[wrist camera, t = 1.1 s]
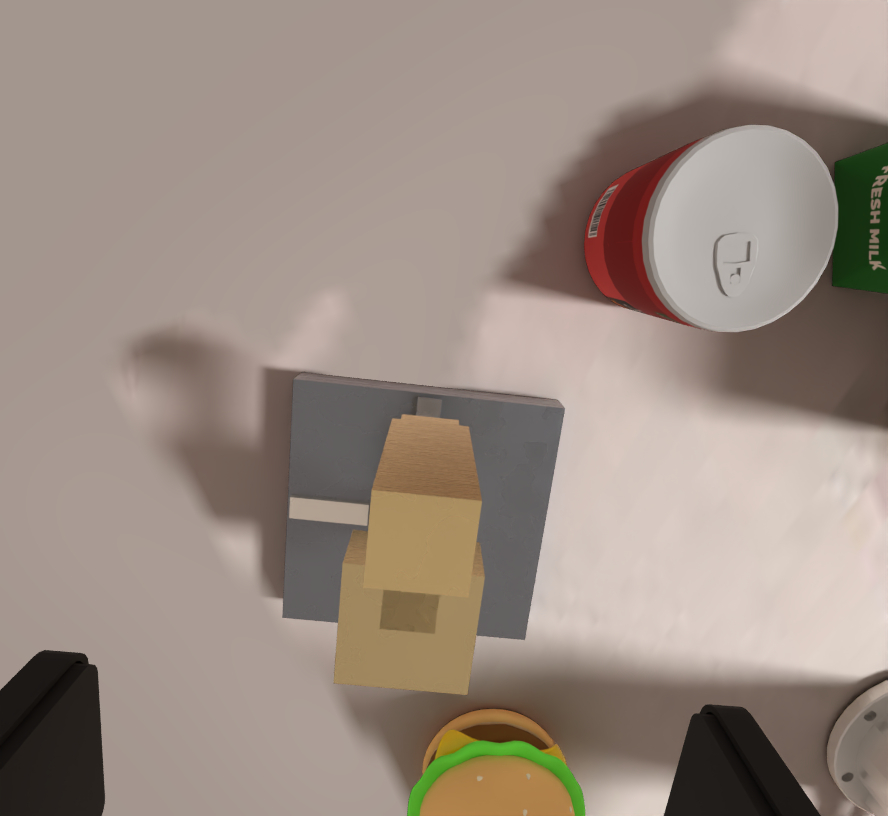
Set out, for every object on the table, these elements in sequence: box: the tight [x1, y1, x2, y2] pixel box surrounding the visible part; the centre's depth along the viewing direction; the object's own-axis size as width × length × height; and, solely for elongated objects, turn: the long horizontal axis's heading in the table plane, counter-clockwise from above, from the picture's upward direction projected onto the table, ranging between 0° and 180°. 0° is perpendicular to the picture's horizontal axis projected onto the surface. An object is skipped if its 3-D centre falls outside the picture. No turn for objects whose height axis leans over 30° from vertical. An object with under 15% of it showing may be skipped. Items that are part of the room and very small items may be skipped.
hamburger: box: [407, 709, 585, 816], centre depth 38 cm, size 12×12×9 cm
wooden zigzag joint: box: [334, 414, 485, 695], centre depth 22 cm, size 12×6×10 cm, turn 174°
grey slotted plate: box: [282, 372, 565, 640], centre depth 33 cm, size 16×16×9 cm
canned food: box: [584, 125, 838, 332], centre depth 28 cm, size 8×8×11 cm
